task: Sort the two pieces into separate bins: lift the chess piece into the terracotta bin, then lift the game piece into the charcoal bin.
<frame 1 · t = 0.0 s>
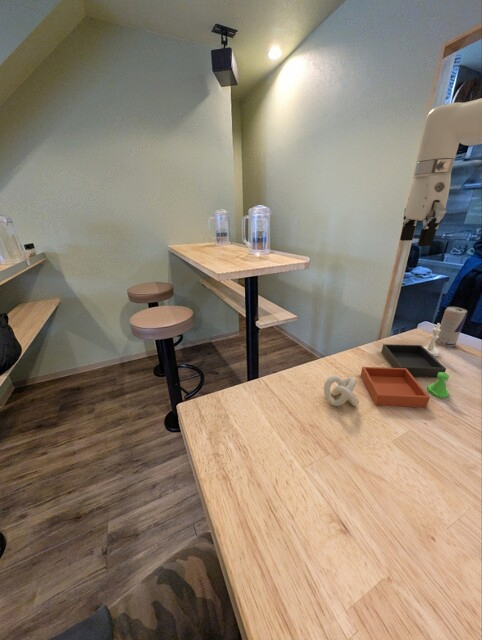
hand: (414, 242, 68), 33 cm above the table, tool pointing down, fingers open, 9 cm apart
game piece: (437, 392, 63), on the table
chess piece: (428, 352, 79), on the table
charcoal bin: (409, 364, 73), on the table
terracotta bin: (390, 390, 64), on the table
energy drink: (444, 343, 83), on the table
knot: (342, 402, 61), on the table
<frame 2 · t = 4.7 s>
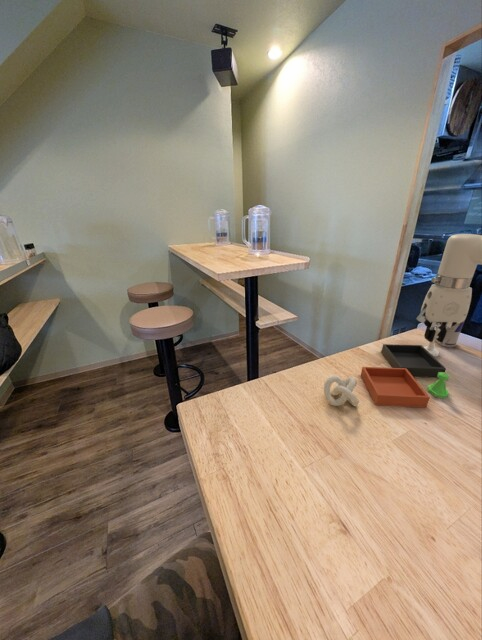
hand: (433, 339, 77), 5 cm above the table, tool pointing down, fingers closed on chess piece
chess piece: (429, 352, 79), on the table, touching gripper
everything else where it was.
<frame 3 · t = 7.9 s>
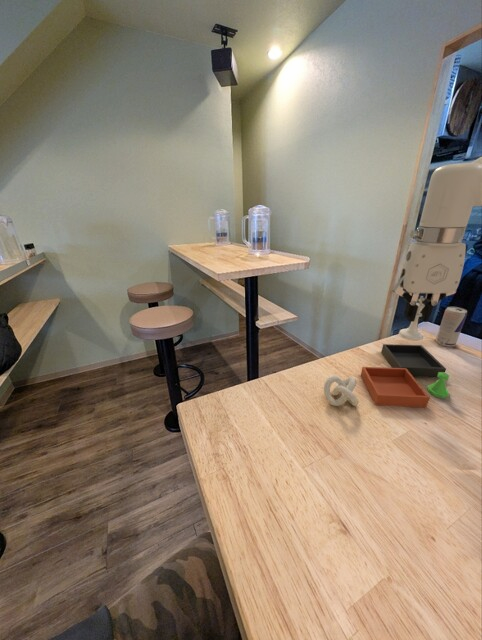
hand: (415, 318, 58), 19 cm above the table, tool pointing down, fingers closed on chess piece
chess piece: (410, 336, 60), point 14 cm above the table, touching gripper
everything else where it was.
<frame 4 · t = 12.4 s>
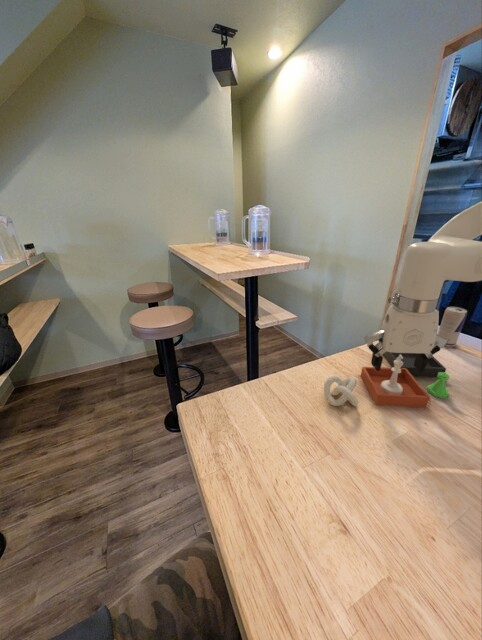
hand: (396, 368, 61), 7 cm above the table, tool pointing down, fingers open, 9 cm apart
chess piece: (391, 389, 64), resting on terracotta bin
everything else where it was.
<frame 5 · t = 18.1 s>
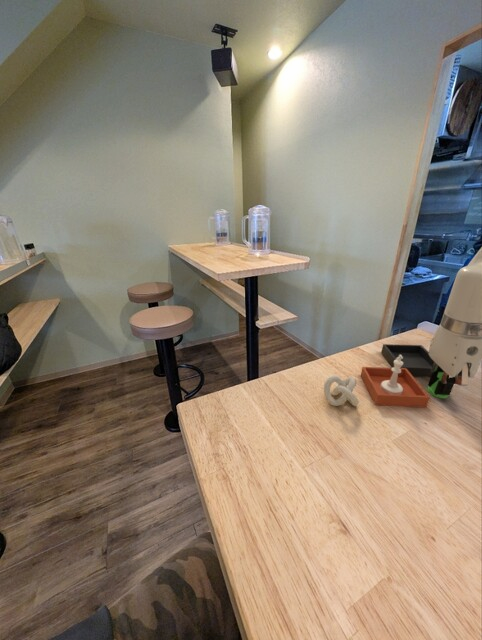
hand: (438, 390, 62), 1 cm above the table, tool pointing down, fingers closed on game piece, 2 cm apart
game piece: (437, 392, 63), on the table, touching gripper
everything else where it was.
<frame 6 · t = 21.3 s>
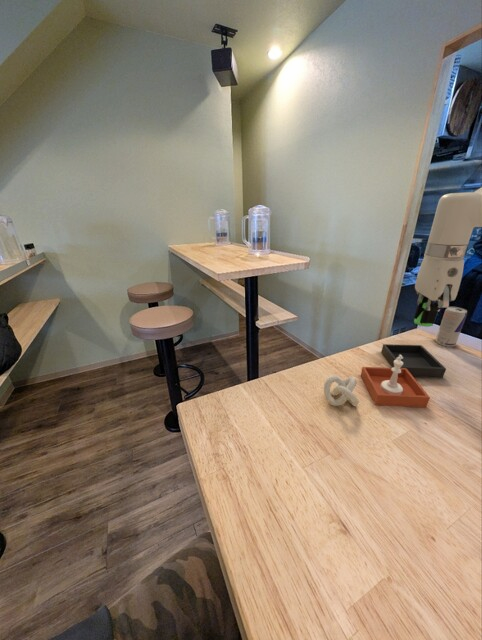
hand: (423, 320, 67), 14 cm above the table, tool pointing down, fingers closed on game piece
game piece: (422, 323, 67), point 13 cm above the table, touching gripper
everything else where it was.
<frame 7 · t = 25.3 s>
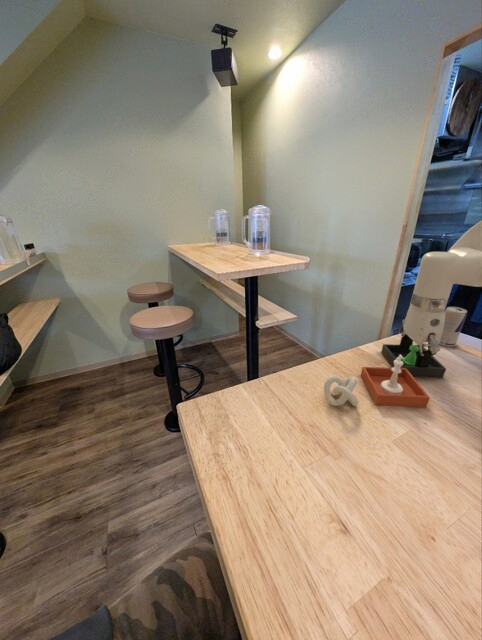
hand: (412, 357, 72), 2 cm above the table, tool pointing down, fingers open, 8 cm apart
game piece: (409, 363, 73), resting on charcoal bin
everything else where it was.
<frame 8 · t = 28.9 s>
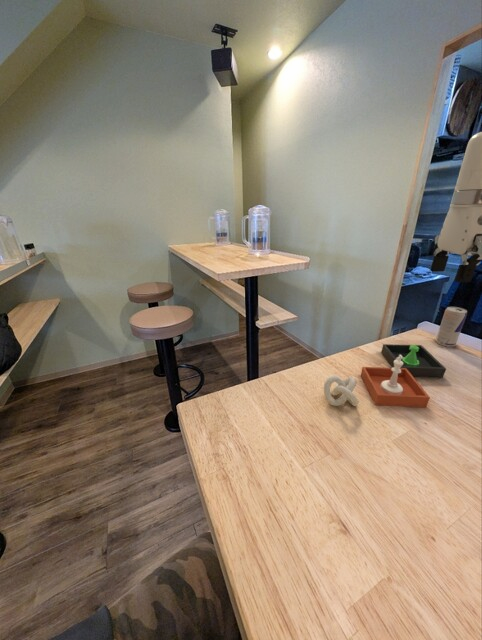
hand: (448, 276, 62), 26 cm above the table, tool pointing down, fingers open, 9 cm apart
nothing on the table moved.
at the end: chess piece inside the target area in the terracotta bin (0.1 cm from its centre), point 0.3 cm above the terracotta bin's base; game piece inside the target area in the charcoal bin (0.2 cm from its centre), point 0.3 cm above the charcoal bin's base; chess piece tilted 0° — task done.
